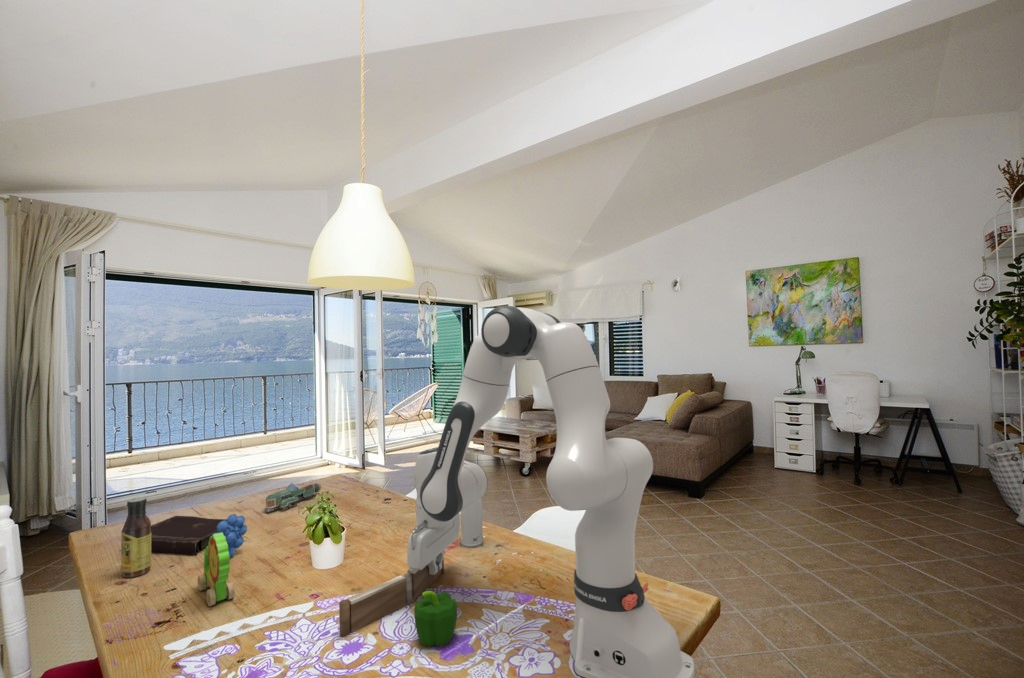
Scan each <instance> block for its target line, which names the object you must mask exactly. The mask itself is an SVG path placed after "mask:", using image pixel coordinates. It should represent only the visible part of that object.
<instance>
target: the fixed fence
mask: <svg viewBox="0 0 1024 678" xmlns="http://www.w3.org/2000/svg"><path fill="white" fill-rule="evenodd" d="M338 602H339V603H338V605H339V606H338V608H339V610H338V611H339V612H338V613H339V636H340V637H342V638H345V637H348V636H350V635H351V634H352V633H354V632H357V631H358V630H361V629H363V628H364V627H367V626H369V625H370V624H373V623H375V622H377V621H379V620H381V619H383V618H385V617H387V616H389V615H392V614H393V613H395V612H397V611H400V610H401V609H403V608H405V607H407V606H408V605H412V604H413V600H412V574H411V573H407V572H406V573H405V574H404V576H403V575H398V576H396V577H393V578H392V579H390V580H387V581H384V582H382V583H379V584H378V585H375V586H373V587H370V588H368V589H366V590H364V591H362V592H359V593H357V594H355V595H352V596H350V597H347V598H345V599H341V600H340V601H338Z"/></svg>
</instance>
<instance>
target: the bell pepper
mask: <svg viewBox="0 0 1024 678" xmlns="http://www.w3.org/2000/svg"><path fill="white" fill-rule="evenodd" d="M421 594H422V597H423V600H418V601H417V602H416V603H415V606H414V610H413V611H414V625H415V629H416V633H417V636H418V640H419V642H420V643H421V644H422V645H423V646H425V647H431V648H432V647H434V646H436V647H444V646H445V645H447V644H448V643H450V642H451V640H452V639H453V636H454V633H455V629H456V625H457V619H458V604H457V602H456V600H455V598H452V597H451V595H450V594H449V593H448V592H447V591H445V592H441V593H436V592H434V591H432V590H426V591H425V590H424V591H423V592H422V593H421Z"/></svg>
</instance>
